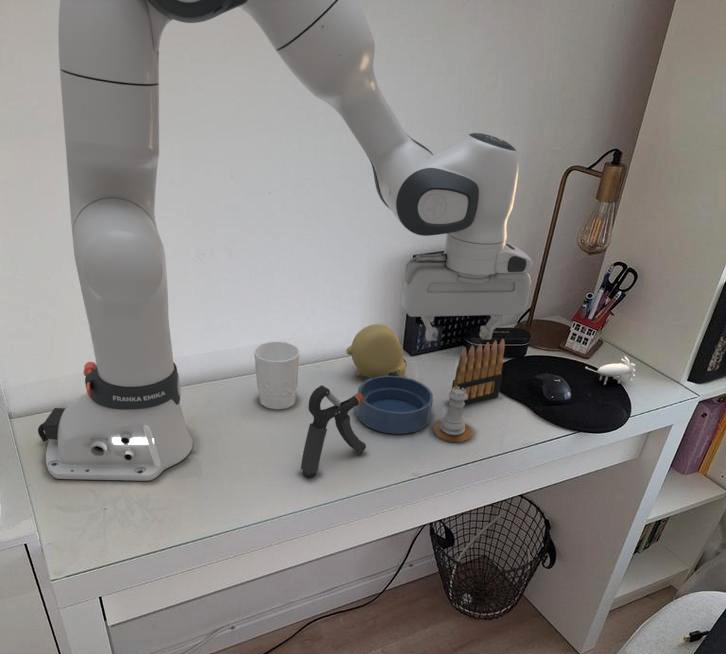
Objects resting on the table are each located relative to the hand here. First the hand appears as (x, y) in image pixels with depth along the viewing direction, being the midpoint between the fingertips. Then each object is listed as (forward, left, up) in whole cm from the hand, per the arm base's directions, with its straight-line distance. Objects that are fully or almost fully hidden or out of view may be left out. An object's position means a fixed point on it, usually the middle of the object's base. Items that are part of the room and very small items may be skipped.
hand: (458, 339), depth 112 cm
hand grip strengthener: (-21, -7, -18) cm, 29 cm away
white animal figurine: (+40, +12, -18) cm, 45 cm away
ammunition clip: (+9, +9, -18) cm, 22 cm away
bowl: (-8, +6, -18) cm, 20 cm away
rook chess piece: (+1, -1, -17) cm, 17 cm away
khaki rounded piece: (-7, +21, -18) cm, 28 cm away
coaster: (+1, -1, -18) cm, 18 cm away
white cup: (-28, +14, -18) cm, 36 cm away
